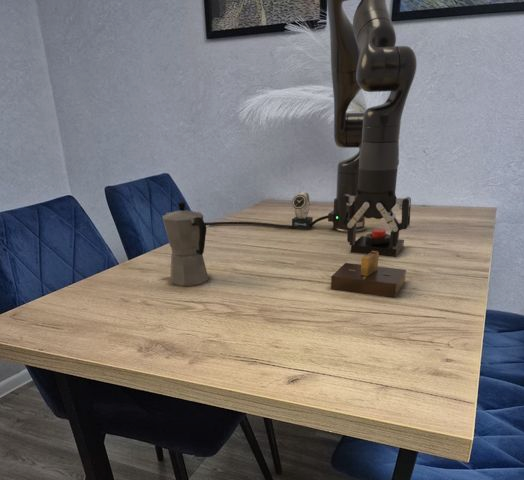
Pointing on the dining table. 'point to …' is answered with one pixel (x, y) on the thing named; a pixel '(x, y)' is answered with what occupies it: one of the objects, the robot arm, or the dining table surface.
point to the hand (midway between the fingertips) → (371, 246)
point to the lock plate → (368, 280)
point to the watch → (301, 211)
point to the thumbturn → (369, 263)
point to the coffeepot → (186, 246)
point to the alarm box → (376, 245)
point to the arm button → (378, 233)
